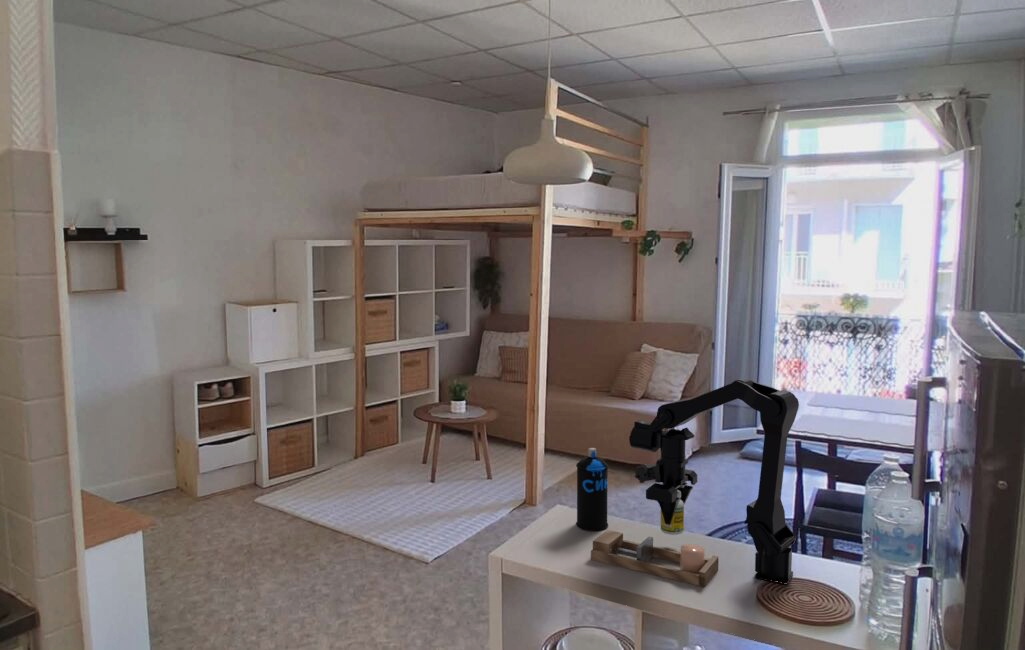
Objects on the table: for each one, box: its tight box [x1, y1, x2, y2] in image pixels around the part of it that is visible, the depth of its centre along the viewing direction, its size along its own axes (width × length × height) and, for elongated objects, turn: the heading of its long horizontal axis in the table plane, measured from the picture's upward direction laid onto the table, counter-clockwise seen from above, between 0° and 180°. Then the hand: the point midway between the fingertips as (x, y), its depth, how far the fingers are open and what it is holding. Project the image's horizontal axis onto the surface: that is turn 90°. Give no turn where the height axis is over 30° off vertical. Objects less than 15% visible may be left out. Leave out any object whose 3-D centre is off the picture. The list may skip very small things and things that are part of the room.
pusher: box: [616, 536, 654, 563], centre depth 156 cm, size 7×7×4 cm
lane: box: [590, 529, 719, 588], centre depth 154 cm, size 26×10×4 cm, turn 57°
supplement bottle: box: [660, 490, 685, 536], centre depth 163 cm, size 5×5×10 cm
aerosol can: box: [575, 447, 610, 532], centre depth 177 cm, size 8×8×20 cm
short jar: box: [679, 544, 706, 574], centre depth 149 cm, size 5×5×6 cm
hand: (672, 520), depth 164 cm, fingers closed on supplement bottle, 5 cm apart
